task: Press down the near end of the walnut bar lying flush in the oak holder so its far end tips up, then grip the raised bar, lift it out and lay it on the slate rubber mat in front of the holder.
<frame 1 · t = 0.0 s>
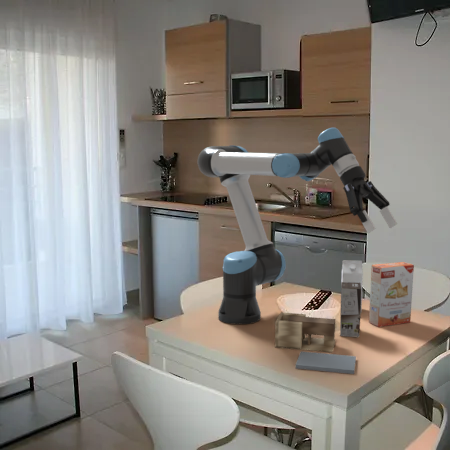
hand: (383, 228, 183), 36 cm above the table, tool tilted 35°, fingers open, 13 cm apart
bar: (311, 332, 183), point 4 cm above the table, touching holder
milk carton: (350, 311, 221), on the table
holder: (311, 344, 184), on the table
cracker box: (390, 323, 206), on the table
coffee box: (349, 333, 196), on the table
mat: (326, 363, 168), on the table
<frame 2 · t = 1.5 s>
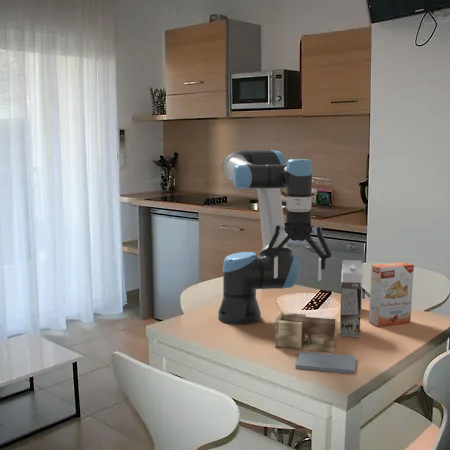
hand: (297, 278, 182), 21 cm above the table, tool pointing down, fingers open, 13 cm apart
nothing on the table moved.
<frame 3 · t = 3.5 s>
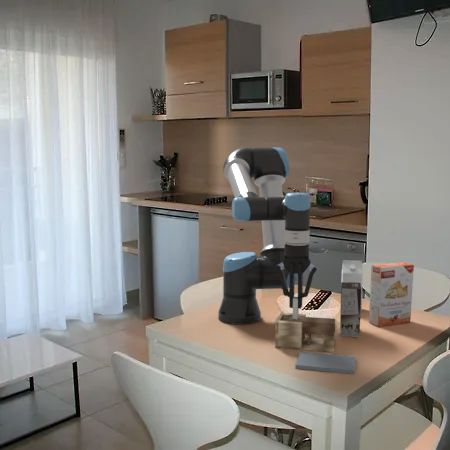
hand: (295, 318, 184), 8 cm above the table, tool pointing down, fingers closed
bar: (311, 332, 183), point 4 cm above the table, touching gripper, holder
everything else where it was.
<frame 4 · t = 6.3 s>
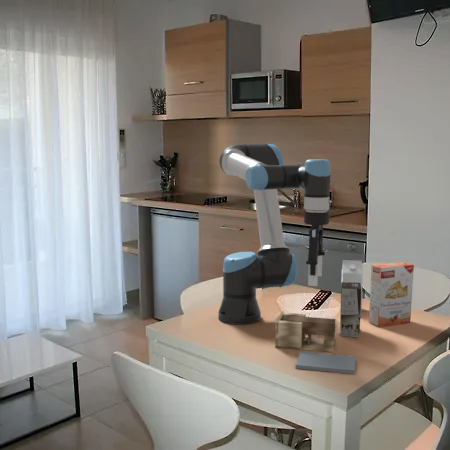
hand: (315, 280, 181), 20 cm above the table, tool pointing down, fingers open, 12 cm apart
bar: (311, 332, 183), point 4 cm above the table, touching holder
everything else where it was.
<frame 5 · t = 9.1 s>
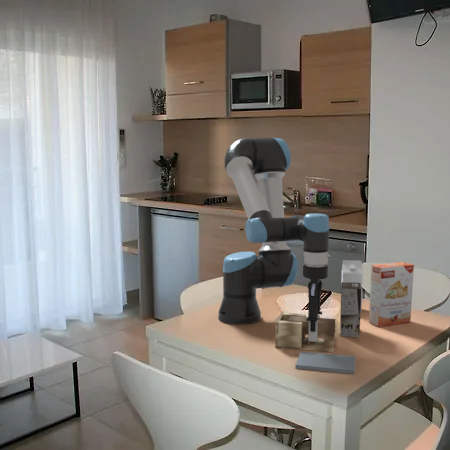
hand: (313, 337, 183), 2 cm above the table, tool pointing down, fingers closed on bar, 5 cm apart
bar: (311, 332, 183), point 4 cm above the table, touching gripper, holder
everything else where it was.
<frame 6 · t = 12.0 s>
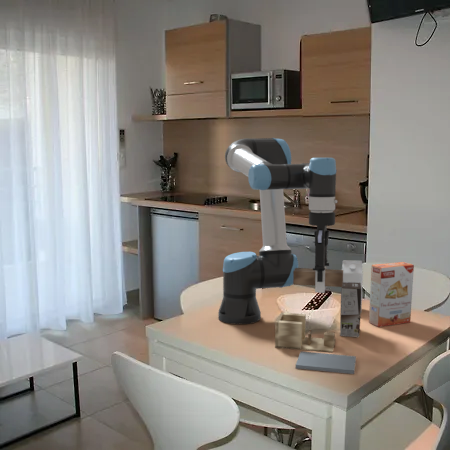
hand: (320, 289, 173), 20 cm above the table, tool pointing down, fingers closed on bar, 5 cm apart
bar: (318, 283, 173), point 21 cm above the table, touching gripper
everything else where it was.
when the fingers open (6 cm above the table, at t = 15.2 s): bar drops 7 cm, resting on mat.
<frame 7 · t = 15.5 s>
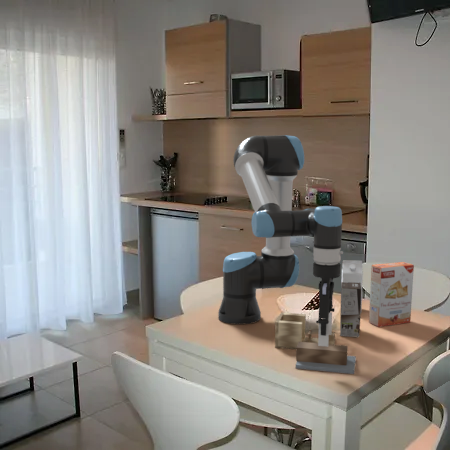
hand: (325, 339, 167), 7 cm above the table, tool pointing down, fingers open, 9 cm apart
bar: (321, 360, 168), point 1 cm above the table, touching mat
everything else where it was.
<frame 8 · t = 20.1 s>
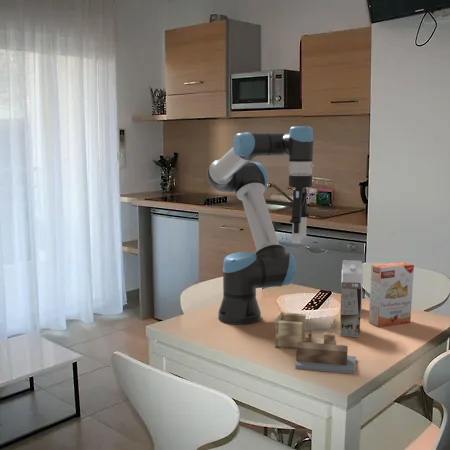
hand: (299, 239, 194), 31 cm above the table, tool pointing down, fingers open, 13 cm apart
nothing on the table moved.
at the end: bar inside the target area on the mat (1.3 cm from its centre), point 1.0 cm above the mat's base; bar touching mat; the gripper is holding nothing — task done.
